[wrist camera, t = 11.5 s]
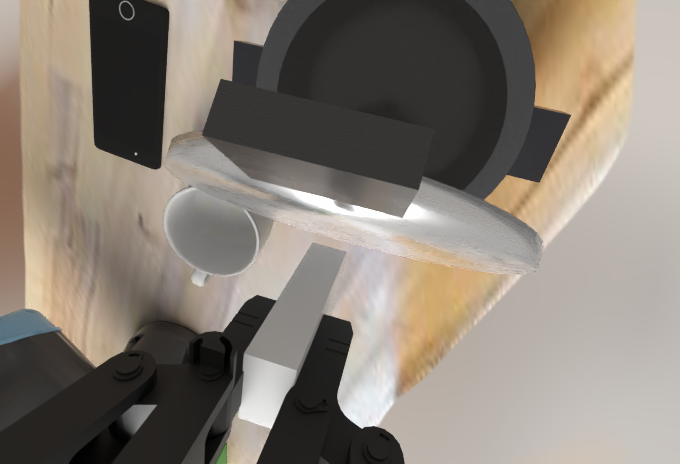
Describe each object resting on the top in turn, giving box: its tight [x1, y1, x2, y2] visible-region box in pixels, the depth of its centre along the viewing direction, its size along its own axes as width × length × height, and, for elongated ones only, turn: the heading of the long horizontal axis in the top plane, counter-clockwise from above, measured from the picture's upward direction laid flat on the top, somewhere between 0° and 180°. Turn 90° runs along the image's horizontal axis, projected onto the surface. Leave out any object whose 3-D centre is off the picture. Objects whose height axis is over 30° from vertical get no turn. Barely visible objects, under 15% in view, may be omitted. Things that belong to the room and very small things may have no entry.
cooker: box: [232, 0, 571, 200], centre depth 32 cm, size 25×22×11 cm
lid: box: [164, 79, 543, 274], centre depth 20 cm, size 20×23×2 cm
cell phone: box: [89, 0, 169, 169], centre depth 42 cm, size 9×18×1 cm, turn 163°
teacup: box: [163, 186, 272, 286], centre depth 43 cm, size 14×11×8 cm
